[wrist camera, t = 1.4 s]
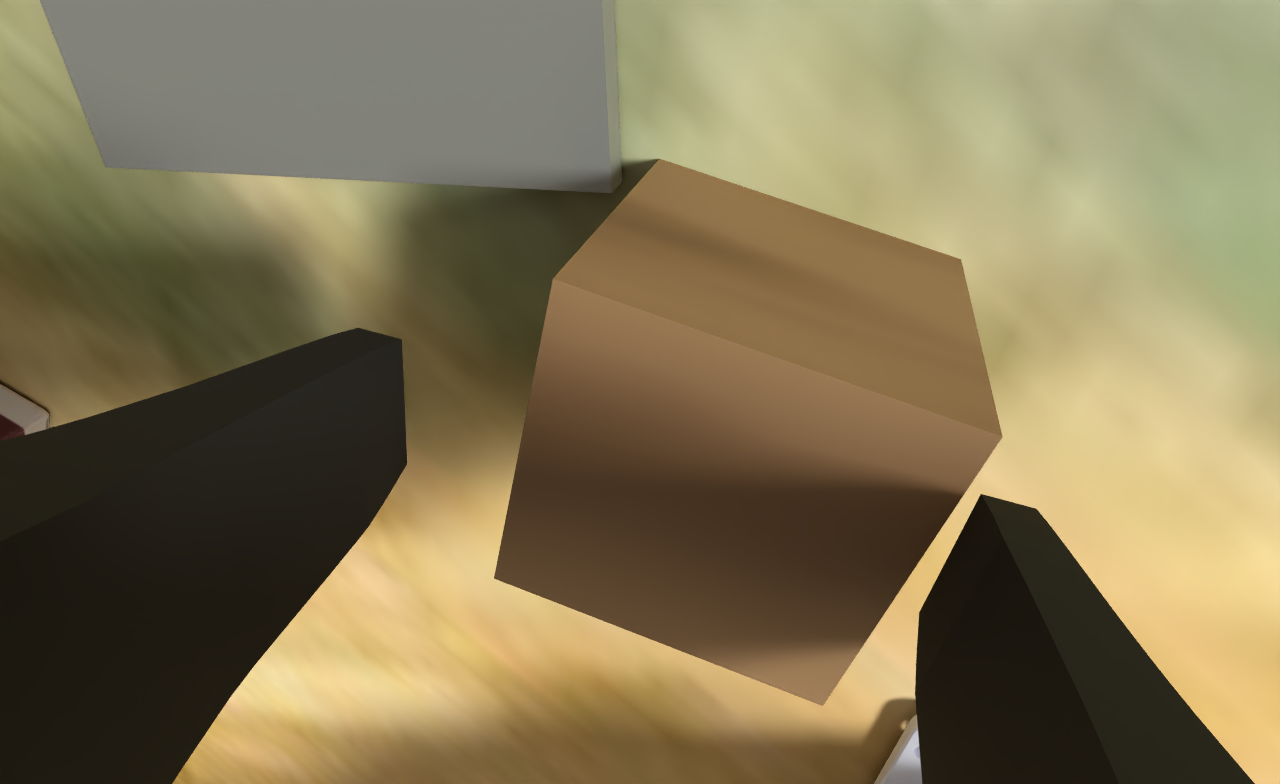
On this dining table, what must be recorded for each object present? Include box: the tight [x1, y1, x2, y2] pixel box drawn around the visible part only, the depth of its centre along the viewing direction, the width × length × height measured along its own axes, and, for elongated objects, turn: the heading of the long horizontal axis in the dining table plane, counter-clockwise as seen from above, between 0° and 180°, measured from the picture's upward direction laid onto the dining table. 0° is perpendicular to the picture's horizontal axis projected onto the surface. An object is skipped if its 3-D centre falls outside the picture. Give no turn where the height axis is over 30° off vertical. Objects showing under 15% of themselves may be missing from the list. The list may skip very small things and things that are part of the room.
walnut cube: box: [494, 159, 1002, 706], centre depth 12 cm, size 5×5×5 cm
